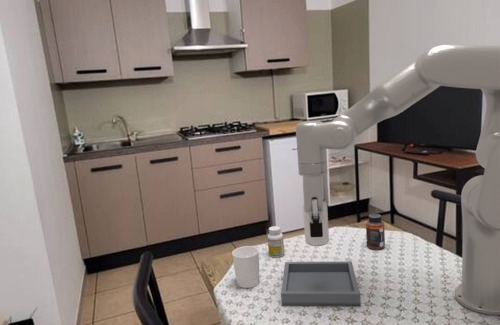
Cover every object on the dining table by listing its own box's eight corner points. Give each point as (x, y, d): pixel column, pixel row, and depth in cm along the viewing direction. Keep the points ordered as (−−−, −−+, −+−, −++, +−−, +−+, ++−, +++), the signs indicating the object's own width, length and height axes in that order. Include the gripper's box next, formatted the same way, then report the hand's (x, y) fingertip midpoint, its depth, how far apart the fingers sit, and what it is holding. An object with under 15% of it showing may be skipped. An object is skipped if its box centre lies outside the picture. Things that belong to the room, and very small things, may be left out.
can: (327, 236, 103) (325, 195, 101) (330, 246, 97) (328, 203, 94) (304, 237, 104) (301, 197, 101) (306, 247, 97) (303, 204, 95)
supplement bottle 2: (387, 249, 123) (386, 217, 120) (369, 251, 123) (368, 219, 121) (381, 242, 128) (380, 212, 126) (364, 243, 129) (363, 213, 126)
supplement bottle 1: (275, 250, 130) (272, 224, 128) (287, 253, 127) (285, 226, 125) (265, 255, 126) (263, 229, 124) (278, 259, 123) (276, 232, 121)
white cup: (248, 273, 115) (245, 243, 113) (266, 281, 109) (264, 250, 107) (229, 283, 109) (226, 252, 108) (248, 292, 104) (244, 259, 102)
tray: (352, 272, 110) (351, 261, 109) (360, 306, 92) (359, 293, 92) (286, 272, 113) (285, 262, 113) (281, 305, 96) (281, 293, 95)
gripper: (299, 162, 105) (303, 221, 109) (297, 176, 89) (302, 245, 92) (325, 160, 104) (328, 220, 107) (328, 174, 87) (332, 244, 91)
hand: (316, 231), depth 100 cm, fingers closed on can, 5 cm apart
